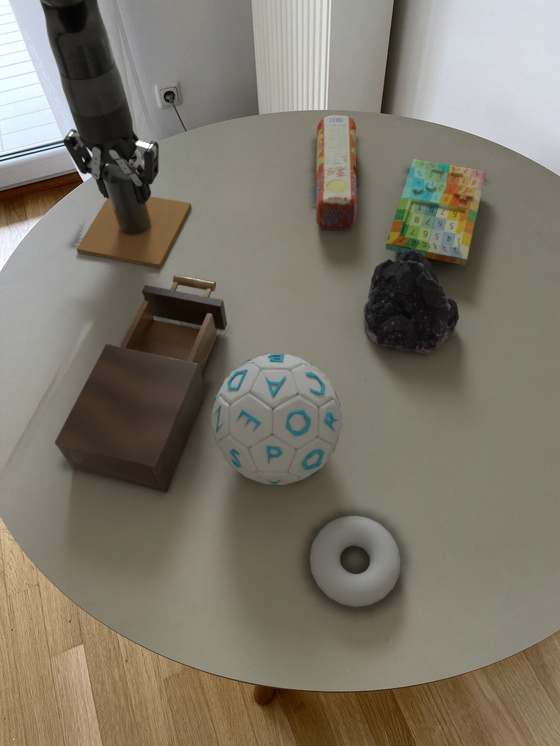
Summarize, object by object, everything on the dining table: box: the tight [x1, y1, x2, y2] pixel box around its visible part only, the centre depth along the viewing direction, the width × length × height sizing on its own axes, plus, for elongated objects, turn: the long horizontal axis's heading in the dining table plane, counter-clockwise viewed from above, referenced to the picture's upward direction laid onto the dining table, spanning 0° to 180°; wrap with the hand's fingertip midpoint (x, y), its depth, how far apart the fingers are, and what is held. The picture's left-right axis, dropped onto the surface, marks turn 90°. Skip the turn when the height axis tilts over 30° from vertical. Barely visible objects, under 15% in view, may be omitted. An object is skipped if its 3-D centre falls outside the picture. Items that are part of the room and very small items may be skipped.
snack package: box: [315, 114, 358, 231], centre depth 105 cm, size 21×7×7 cm, turn 177°
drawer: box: [119, 273, 228, 374], centre depth 88 cm, size 18×11×5 cm, turn 164°
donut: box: [309, 515, 402, 608], centre depth 72 cm, size 10×4×10 cm
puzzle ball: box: [211, 353, 343, 486], centre depth 75 cm, size 15×15×15 cm
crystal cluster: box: [363, 249, 460, 355], centre depth 88 cm, size 13×14×10 cm
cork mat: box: [76, 195, 192, 269], centre depth 104 cm, size 14×14×1 cm
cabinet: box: [54, 343, 207, 493], centre depth 81 cm, size 15×13×7 cm
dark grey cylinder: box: [102, 161, 151, 234], centre depth 99 cm, size 5×5×10 cm
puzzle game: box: [385, 158, 487, 266], centre depth 100 cm, size 12×5×20 cm
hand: (126, 197), depth 99 cm, fingers closed on dark grey cylinder, 5 cm apart
